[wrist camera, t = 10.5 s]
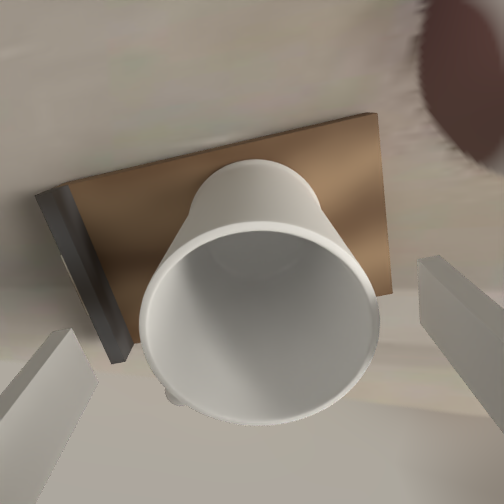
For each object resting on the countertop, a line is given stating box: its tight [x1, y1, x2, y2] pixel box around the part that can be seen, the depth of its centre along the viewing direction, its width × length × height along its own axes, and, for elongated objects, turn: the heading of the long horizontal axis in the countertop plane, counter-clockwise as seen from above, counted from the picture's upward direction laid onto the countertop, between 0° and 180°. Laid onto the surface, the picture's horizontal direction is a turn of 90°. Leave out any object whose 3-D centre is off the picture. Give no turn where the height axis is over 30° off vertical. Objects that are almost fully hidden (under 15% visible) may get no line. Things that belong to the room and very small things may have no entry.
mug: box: [139, 159, 380, 426], centre depth 18 cm, size 12×8×12 cm
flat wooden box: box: [35, 112, 393, 364], centre depth 24 cm, size 12×20×4 cm, turn 103°
